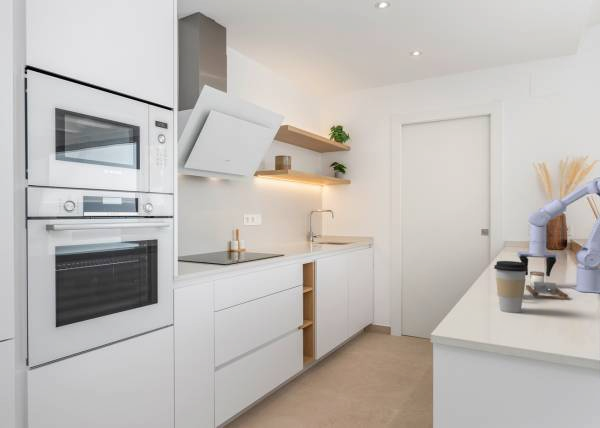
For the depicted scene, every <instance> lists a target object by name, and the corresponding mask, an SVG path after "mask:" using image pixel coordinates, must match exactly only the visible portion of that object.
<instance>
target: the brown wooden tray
mask: <svg viewBox="0 0 600 428" xmlns="http://www.w3.org/2000/svg"><path fill="white" fill-rule="evenodd" d="M525 290H527V292H529V294H531V295H532V296H533V297H534V298H535V299H547V300H561V301H569V299H570V298H569V296H568V294H567V293H565V292H564V291H562V290H561V289H559V288H557V287H556V294H555V295H544V294H543V295H542V294H539V293H538V292H536V291H535V290H534V288H531V287H530V284H525ZM557 295H558V296H557Z"/></svg>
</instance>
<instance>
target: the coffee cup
mask: <svg viewBox="0 0 600 428" xmlns="http://www.w3.org/2000/svg"><path fill="white" fill-rule="evenodd" d="M493 269H494V270H495V269H496V270H497V283H496V288H497V287H498V292H497V296H498V295H499V297H498V300H499V310H500V311H502V312H504V311H505V313H509V312H510V314H511V313H513V314H519V313H521V312H522V306H523V298H524V293H525V289H526V276H527V275H526V271H529V267H528V268H527V267H526V266H525V263H522V262H521V261H513V260H498V261H496V264H495V265H494V267H493Z"/></svg>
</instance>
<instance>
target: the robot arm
mask: <svg viewBox="0 0 600 428" xmlns="http://www.w3.org/2000/svg"><path fill="white" fill-rule="evenodd" d="M591 194H592V195H593V194H596V195H597V196H599V197H600V177H596V178H594V179H593V180H590V181H588V182H586V183H584V184H582V185H581V186H579V187H577V188H576V189H574V191H572V192H570V193H569V194H568V195H566V196H564V197H563V198H561V199H558V198H556V199H554V200H553V199H551V200H549V201H548V203H547V204H545V205H544V206H543V207H539V208H537V210H538V211H534V212H532V213H531V214H530V215H529V217H528V222H529V223H530V226H529V228H530V229H529V247H528V248H529V249H528V250H529V251H516V257H518V258H519V260H520V262H522V263H525V266H526V267H527V268H528V269H529V266H528V265H529V258H541V259H543V258H544V259H545V258H546V259H545V262H546V263H545V265H546V269H545V276H546V277H550V276H551V272H552V269H553V267H554V265H555V264H556V262H557V259H560V254H559V252H548V251H547V224H548V223H549V221H551V220H554V219H555V218H556V217H558V216H560V215H561V214H563V213H564V212H566V210H567V207H568V206H569V205H571V204H573V203H574V202H577V201H579V199H582V198H583V197H586V196H587V195H591ZM575 260H576V262H577V265H576V277H575V278H576V282H575V283H576V284H575V285H576V286H572V289H574V290H576V291H578V292H582V293H596V294H600V213H599V214H598V217H597V218H596V220H595V223H594V225H593V227H592V229H591V231H590V234H589V235H588V238H587V241H585V242H584V244H583V245H582V246H581V249H579V250H578V251H577V252H576V254H575ZM528 271H529V270H528ZM528 271H526V276H529V275H528V274H529V272H528Z"/></svg>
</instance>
